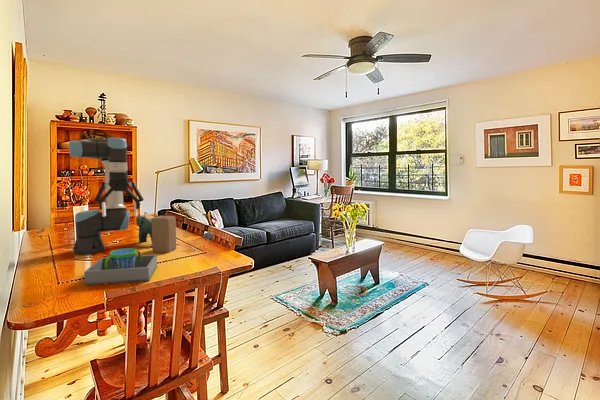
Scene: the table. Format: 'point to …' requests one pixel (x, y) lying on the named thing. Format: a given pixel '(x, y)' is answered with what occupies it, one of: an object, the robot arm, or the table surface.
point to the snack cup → (123, 258)
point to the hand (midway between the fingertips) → (120, 216)
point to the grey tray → (121, 271)
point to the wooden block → (163, 234)
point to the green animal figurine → (144, 228)
